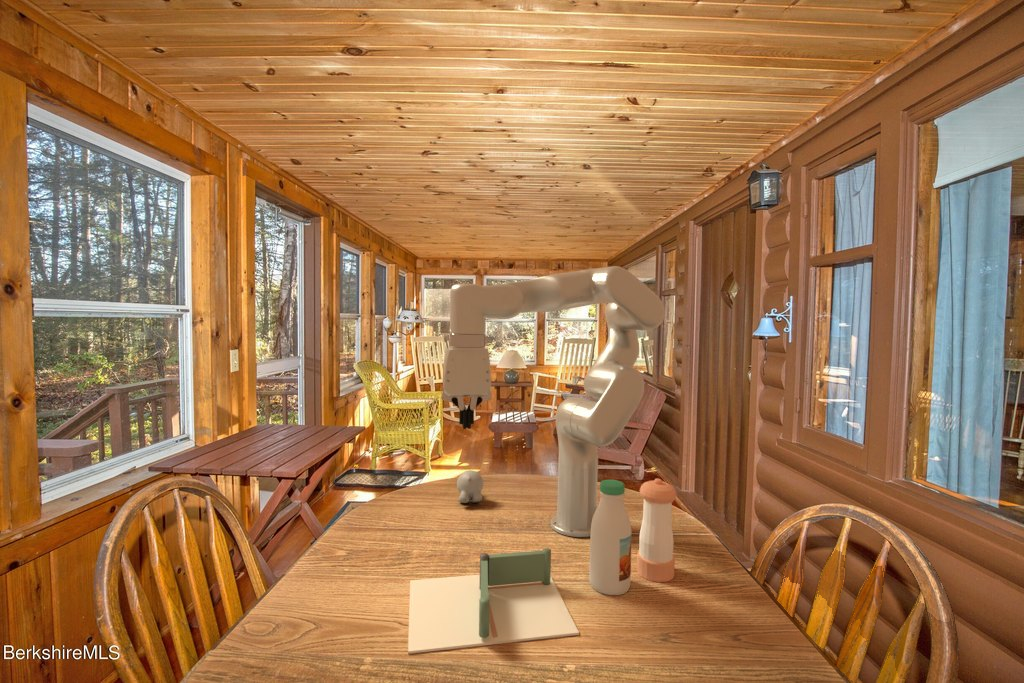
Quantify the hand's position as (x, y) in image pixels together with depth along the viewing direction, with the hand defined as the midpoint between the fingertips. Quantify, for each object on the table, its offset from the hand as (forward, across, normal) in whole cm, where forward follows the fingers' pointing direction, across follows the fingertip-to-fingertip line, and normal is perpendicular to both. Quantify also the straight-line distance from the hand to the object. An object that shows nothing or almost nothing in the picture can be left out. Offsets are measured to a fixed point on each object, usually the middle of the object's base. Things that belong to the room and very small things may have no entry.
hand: (466, 427), depth 105 cm
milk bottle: (+27, -26, +18) cm, 42 cm away
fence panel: (+26, -1, +24) cm, 36 cm away
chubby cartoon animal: (+27, -4, -29) cm, 40 cm away
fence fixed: (+27, -8, +16) cm, 32 cm away
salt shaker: (+27, -37, +15) cm, 48 cm away
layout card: (+27, -2, +21) cm, 34 cm away
